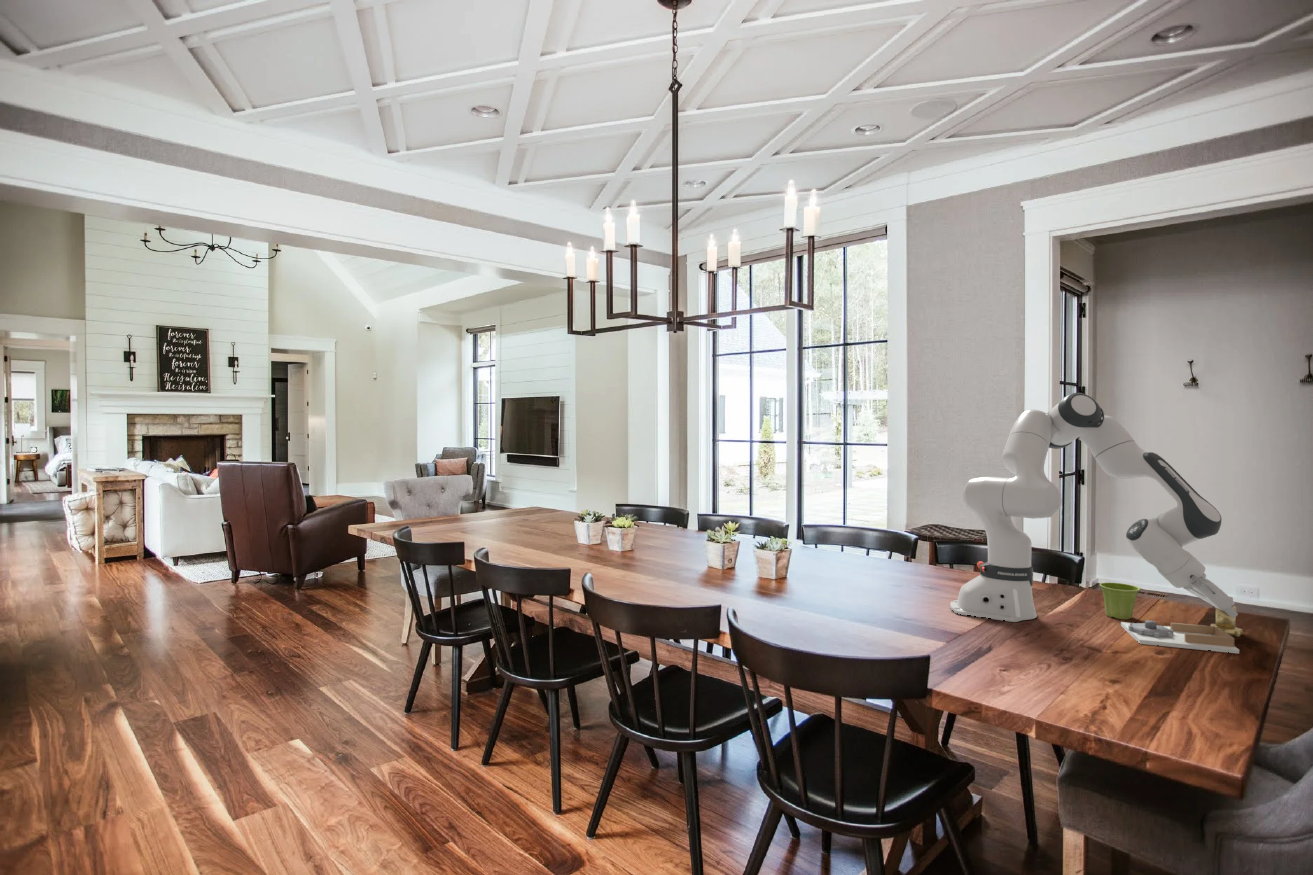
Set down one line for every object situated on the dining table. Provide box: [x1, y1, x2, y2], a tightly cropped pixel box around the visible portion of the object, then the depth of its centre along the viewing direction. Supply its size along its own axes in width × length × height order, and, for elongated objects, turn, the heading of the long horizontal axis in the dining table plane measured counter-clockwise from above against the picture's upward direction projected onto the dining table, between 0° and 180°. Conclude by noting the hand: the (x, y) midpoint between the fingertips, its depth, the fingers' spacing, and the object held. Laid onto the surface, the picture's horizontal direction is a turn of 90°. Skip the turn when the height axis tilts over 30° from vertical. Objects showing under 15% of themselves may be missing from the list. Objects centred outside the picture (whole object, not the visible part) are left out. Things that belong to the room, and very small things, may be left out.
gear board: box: [1120, 619, 1240, 654], centre depth 173 cm, size 20×16×4 cm
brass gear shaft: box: [1210, 596, 1243, 637], centre depth 178 cm, size 7×6×9 cm
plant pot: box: [1099, 582, 1141, 620], centre depth 193 cm, size 9×9×9 cm
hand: (1228, 612), depth 178 cm, fingers open, 5 cm apart
